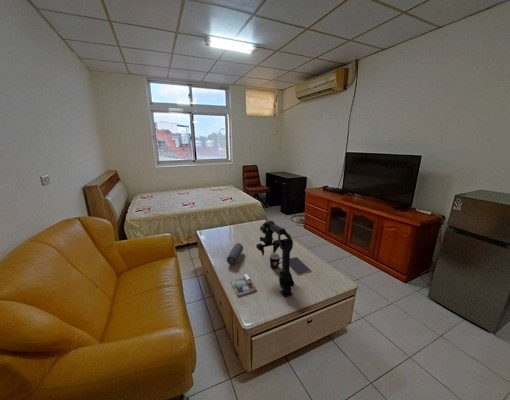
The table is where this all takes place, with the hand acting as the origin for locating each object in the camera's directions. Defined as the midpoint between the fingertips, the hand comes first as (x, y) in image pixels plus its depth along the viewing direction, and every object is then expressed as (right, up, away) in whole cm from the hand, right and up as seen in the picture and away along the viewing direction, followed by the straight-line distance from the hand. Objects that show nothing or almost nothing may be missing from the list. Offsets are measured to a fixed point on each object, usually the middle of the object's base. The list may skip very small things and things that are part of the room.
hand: (268, 254), depth 169 cm
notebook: (+24, -13, +11) cm, 30 cm away
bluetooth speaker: (-28, -9, +21) cm, 36 cm away
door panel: (-19, -19, -14) cm, 31 cm away
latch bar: (-16, -17, -10) cm, 25 cm away
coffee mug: (+7, -13, +9) cm, 17 cm away
